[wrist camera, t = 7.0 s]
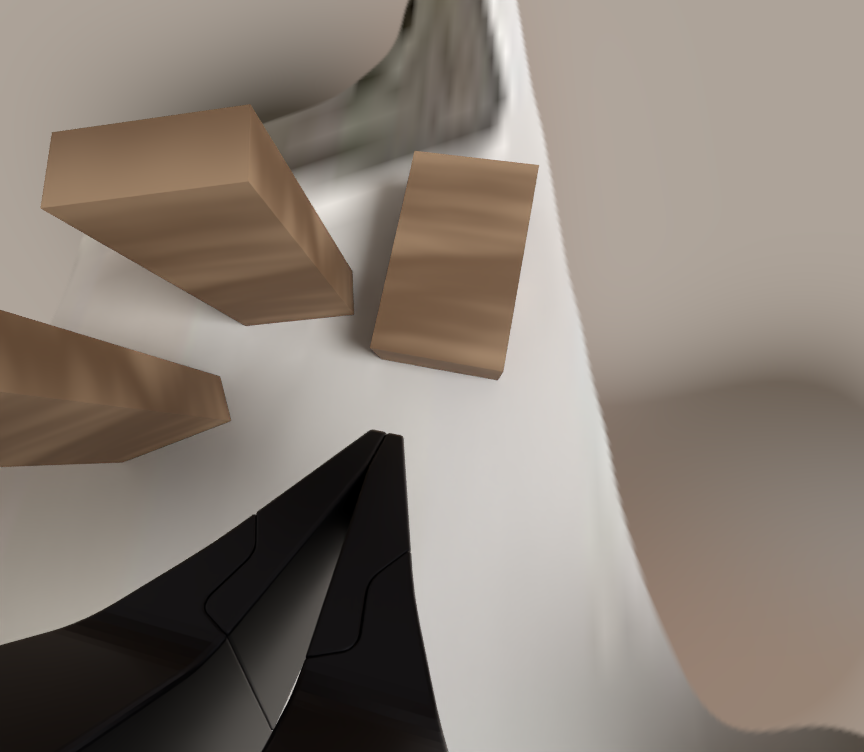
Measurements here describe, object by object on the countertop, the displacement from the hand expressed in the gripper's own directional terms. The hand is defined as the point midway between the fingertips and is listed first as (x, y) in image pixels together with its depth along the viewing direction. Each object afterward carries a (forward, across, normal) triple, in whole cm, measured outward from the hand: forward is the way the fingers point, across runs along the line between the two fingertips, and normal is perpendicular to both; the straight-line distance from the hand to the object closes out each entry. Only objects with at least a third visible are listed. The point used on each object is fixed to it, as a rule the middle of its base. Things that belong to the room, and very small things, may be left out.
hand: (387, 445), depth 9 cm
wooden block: (+8, 0, +2) cm, 9 cm away
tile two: (+6, +13, +7) cm, 16 cm away
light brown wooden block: (+11, +8, +2) cm, 14 cm away
